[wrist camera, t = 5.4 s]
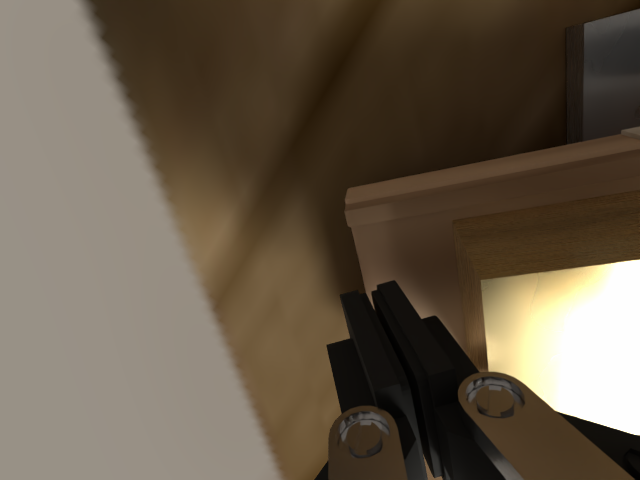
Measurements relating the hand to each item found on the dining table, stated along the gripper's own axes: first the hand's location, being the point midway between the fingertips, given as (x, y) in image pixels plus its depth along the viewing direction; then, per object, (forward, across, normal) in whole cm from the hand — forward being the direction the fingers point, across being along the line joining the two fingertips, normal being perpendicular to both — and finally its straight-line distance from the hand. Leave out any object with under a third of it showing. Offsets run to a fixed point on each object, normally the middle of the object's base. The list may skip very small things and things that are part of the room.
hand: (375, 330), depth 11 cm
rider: (0, -6, 0) cm, 6 cm away
